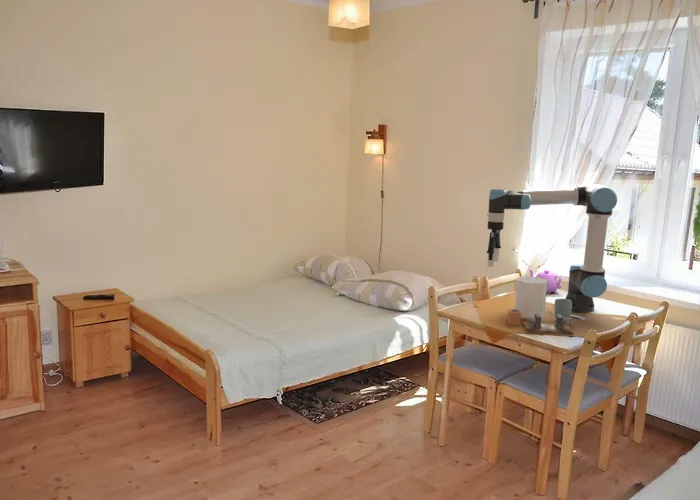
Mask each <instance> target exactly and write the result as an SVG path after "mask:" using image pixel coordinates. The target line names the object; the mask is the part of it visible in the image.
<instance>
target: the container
mask: <svg viewBox="0 0 700 500" xmlns="http://www.w3.org/2000/svg"><path fill="white" fill-rule="evenodd" d="M515 282H516V283H515V298H514V309H517V310H520V312H521V319H522V318H523V319H527V317H534V316H535V314H539V315H540V316H541V319H542V318H544V317H545V314H546V313H545V312H546V299H547V293H546V289H547V280H545V279H543V278H538V277H536V276H534V277H530V276H519V277H516V281H515Z"/></svg>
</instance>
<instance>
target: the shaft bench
mask: <svg viewBox="0 0 700 500" xmlns="http://www.w3.org/2000/svg"><path fill="white" fill-rule="evenodd" d="M572 324H573V323H572V317H570V318H563V316H562V315H561V314H556V319H555V323H546V322H542V318H541V316H540V315H539V314H535V316H534V317H527V318H526V322H523V326H524V327H523V328H525V330H526V331H527V333H531V334H532V333H534V334H554V335H555V334H556V335H557V334H560V335H561V334H562V335H574V330H573V329H572V328H571V327H570V325H572Z"/></svg>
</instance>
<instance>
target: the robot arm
mask: <svg viewBox="0 0 700 500" xmlns="http://www.w3.org/2000/svg"><path fill="white" fill-rule="evenodd" d="M617 203H618V196H617V193H616V191H615V190H613V188H611V187H610V186H607V185H602V184H596V183H594V184H592V183H591V184H586V185H577V186H573V187H572V188H556V189H555V188H554V189H551V188H550V189H533V190H532V189H531V190H505V188H504V189H502V188H501V189H500V188H492V189H490V191H489V197H488V213H487V214H486V215H487V216H488V217H487V220H488V221H487V227H486V228H487V229H488V230H491V232H489V239H488V247H487V251H486V254H487V267H489V268H490V267H491V268H493V267H494V262H499V260H500V259H499V258H500V249H502V246H501V231H502V230H503V229H504V221H505V210H521V211H523V210H529V209H530V208H531V206H546V205H568V204H569V205H571V204H572V205H574V206H583V207H586V208H585V209H586V210H585V214H586V215H587V216H588V223H587V224H588V225H587V230H586V239H585V240H586V241H585V248H584V249H585V251H584V257H583V258H584V259H583V264H572V265H570V267H569V275H568V276H569V277H568V288H567V294H566V296H565V298H564V299H568V300H571V301H572V310H571V312H578V313H591V312H593V311H595V304H594V298H598V297H601V296H602V295H604V293H605V292H606V290H607V289H608V288H607V287H608V282H607V280H606V278H605V277H606V276H605V274H606V269H605V268H604V267H603V264H604V257H605V256H604V254H605V246H606V239H607V238H606V237H607V229H608V223H609V222H608V220H609V218H610V217H611V216H612V215H613V210H614V208H615V207H616V205H617Z"/></svg>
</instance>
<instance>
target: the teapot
mask: <svg viewBox="0 0 700 500" xmlns="http://www.w3.org/2000/svg"><path fill="white" fill-rule="evenodd" d="M527 269H528V271H529V272H530V273H529V274H530V275H529V277H538V278H543V279H545V280H547V289H546V295H552V293H555V292H556V291H557V290H560V289H561V290H562V287H563V286H562V284H561V282H562V278H561V276H560V275H557V274H555V273H553V272H550V270H548V269H544V271H540V272H538V273H537V275H536V276H534V271H533V269H531V268H527Z"/></svg>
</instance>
